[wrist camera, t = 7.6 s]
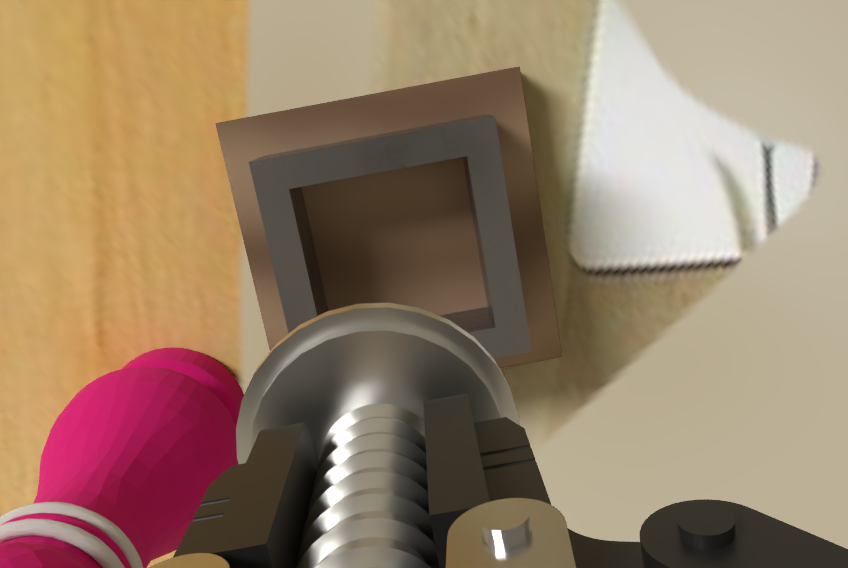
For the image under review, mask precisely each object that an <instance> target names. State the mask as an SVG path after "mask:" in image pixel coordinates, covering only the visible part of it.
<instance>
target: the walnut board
mask: <svg viewBox="0 0 848 568" xmlns="http://www.w3.org/2000/svg"><path fill="white" fill-rule="evenodd" d="M486 114H487V115H492V116H495V120H496V126H497V133H498V139H499V145H500V152H501V158H502V165H503V171H504V177H505V184H506V190H507V197H508V203H509V209H510V216H511V222H512V229H513V235H514V241H515V248H516V254H517V261H518V267H519V273H520V280H521V286H522V293H523V299H524V305H525V312H526V318H527V325H528V331H529V337H530V344H531V350H532V352H527V353H521V354H515V355H510V356H504V357H499V358H494V360H495V361H496V363H497V365H498V367H499V368H503V367H508V366H514V365H519V364H525V363H531V362H536V361H542V360H547V359H553V358H558V357H562V352H561V346H560V339H559V332H558V325H557V318H556V311H555V305H554V298H553V291H552V284H551V277H550V271H549V264H548V257H547V250H546V243H545V236H544V230H543V223H542V216H541V209H540V202H539V196H538V189H537V182H536V175H535V168H534V161H533V155H532V148H531V141H530V134H529V127H528V121H527V114H526V107H525V100H524V93H523V86H522V80H521V73H520V67H515V68H509V69H504V70H499V71H493V72H488V73H483V74H477V75H472V76H466V77H461V78H456V79H450V80H445V81H440V82H434V83H429V84H424V85H418V86H413V87H408V88H402V89H397V90H392V91H386V92H381V93H376V94H370V95H365V96H360V97H354V98H349V99H344V100H338V101H333V102H327V103H322V104H317V105H312V106H306V107H301V108H295V109H290V110H285V111H279V112H274V113H269V114H263V115H258V116H253V117H247V118H242V119H237V120H231V121H226V122H220V123H216V127H217V132H218V136H219V140H220V144H221V148H222V152H223V157H224V161H225V165H226V169H227V173H228V177H229V182H230V186H231V190H232V194H233V198H234V202H235V207H236V211H237V215H238V219H239V223H240V227H241V232H242V236H243V240H244V244H245V248H246V252H247V256H248V261H249V265H250V269H251V273H252V277H253V281H254V285H255V290H256V294H257V298H258V302H259V306H260V310H261V315H262V319H263V323H264V327H265V331H266V336H267V340H268V344H269V348H270V351H271V350H272V348H273V347H274V346H275V345H276V344H277V343H278V342H279V341H280V340H282V339H283V338H284V337H285V336H287V335H288V334H289V333H288V329H287V325H286V321H285V316H284V312H283V308H282V303H281V299H280V295H279V290H278V286H277V282H276V278H275V273H274V269H273V265H272V260H271V256H270V252H269V248H268V243H267V239H266V235H265V230H264V226H263V222H262V217H261V213H260V209H259V205H258V200H257V196H256V192H255V187H254V183H253V179H252V175H251V170H250V166H249V162H250V161H252V160H255V159H257V158H259V157H262V156H265V155H270V154H276V153H281V152H287V151H292V150H297V149H303V148H308V147H313V146H319V145H324V144H330V143H335V142H340V141H346V140H351V139H356V138H362V137H367V136H373V135H378V134H383V133H389V132H394V131H399V130H405V129H410V128H416V127H421V126H426V125H432V124H437V123H443V122H448V121H453V120H459V119H464V118H469V117H475V116H480V115H486ZM302 192H303V196H304V201H305V205H306V210H307V214H308V219H309V224H310V228H311V233H312V237H313V242H314V246H315V251H316V256H317V260H318V265H319V269H320V274H321V278H322V283H323V288H324V292H325V297H326V301H327V306H328V311H331V310H335V309H339V308H343V307H347V306H351V305H355V304H365V303H394V304H400V305H405V306H411V307H417V308H421V309H424V310H426V311H428V312H431V313H433V314H436V315H444V314H450V313H455V312H461V311H466V310H472V309H477V308H483V307H488V306H487V300H486V294H485V288H484V282H483V276H482V270H481V264H480V259H479V253H478V247H477V241H476V235H475V229H474V223H473V217H472V211H471V205H470V199H469V193H468V187H467V181H466V175H465V169H464V163H463V157H459V158H454V159H449V160H443V161H438V162H432V163H427V164H422V165H416V166H411V167H405V168H400V169H395V170H389V171H384V172H378V173H373V174H368V175H362V176H357V177H351V178H346V179H340V180H335V181H330V182H324V183H319V184H313V185H308V186H303V187H302Z"/></svg>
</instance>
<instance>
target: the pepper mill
mask: <svg viewBox="0 0 848 568" xmlns="http://www.w3.org/2000/svg"><path fill="white" fill-rule="evenodd" d="M243 397H244V394H243V391H242V389H241V387H240V386H239V384H238V382H237V381H236V379H235V378H234V377H233V376H232V374H231V373H230V372H229V371H228V370H227V369H226V368H225V367H224V366H222V365H221V364H220V363H218V362H217V361H216V360H214V359H212V358H210V357H209V356H207V355H204V354H202V353H200V352H196V351H193V350H189V349H184V348H163V349H157V350H153V351H150V352H147V353H144V354H142V355H140V356H139V357H137V358H135V359H134V360H132V361H130V362H129V363H128V364H127V365H126V366H125V367H123V368H122V369H121V370H117V371H114V372H111V373H108V374H106V375H104V376H102V377H100V378H98V379H96V380H95V381H93V382H91V383H90V384H88V385H87V386H85V387H84V388H83V389H82V390H81V391H80V392H79V393H77V394H76V395H75V397H74V398H73V399H72V400H71V402H70V403H69V404H68V405H67V407H66V408H65V409H64V410H63V411H62V413H61V414H60V415H59V416H58V418H57V420H56V421H55V423H54V425H53V427H52V429H51V431H50V434H49V436H48V439H47V442H46V445H45V447H44V450H43V453H42V456H41V463H40V476H39V486H38V492H37V496H36V499H35V501H34V503H33V504H29V505H26V506H23V507H19V508H16V509H14V510H12V511H10V512H8V513H6V514H4V515H2V516H1V517H0V568H146V567H147V566H148V564H149V563H150V561H151V560H153V559H156V558H158V557H161V556H163V555H165V554H168V553H170V552H172V551H175V550H177V548H178V546H179V545H180V543H181V541H182V539H183V537H184V535H185V533H186V531H187V529H188V527H189V525H190V523H191V522H193V517H194V515H195V513H196V511H197V509H198V507H199V506H201V501H202V499H203V497H204V495H205V493H206V491H207V489H208V487H209V485H210V484H211V483H212V482H213V481H214V480H215V479H217V478H218V477H219V476H220V475H221V474H222V473H223V472H225V471H226V470H227V469H228V468H229V467H230V466H233V465H238V464H239V463H238V460H237V445H236V426H237V421H238V416H239V412H240V407H241V402H242V399H243Z"/></svg>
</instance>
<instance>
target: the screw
mask: <svg viewBox="0 0 848 568" xmlns="http://www.w3.org/2000/svg"><path fill="white" fill-rule="evenodd" d="M466 393H468V397H469V402H470V407H471V412H472V417H473V422H474V423H475V422H481V421H487V420H492V419H498V418H503V417H507V418H508V419H510V420H512V421H513V422H515V423H516V424H518V425H519V416H518V413H517V409H516V406H515V403H514V399H513V396H512V393H511V389H510V387H509V384H508V382H507V380H506V379H505V377H504V375H503V374H502V372H501V370H500V368H499V367H498V365H497V363H496V361H495V360H494V358H493V357H492V356H491V355H490V354H489V353H488V352H487V351H486V350H485V348H484V347H483V346H482V345H481V344H480V343H479V342H478V341H477V340H476V339H475V338H474V337H473V336H472V335H470V334H469V333H467V332H466V331H464V330H463V329H462V328H460V327H459V326H457V325H456V324H454V323H453V322H451V321H450V320H448V319H446V318H443V317H441V316H438V315H436V314H433V313H431V312H428V311H426V310H424V309H421V308H417V307H411V306H405V305H400V304H394V303H365V304H355V305H351V306H347V307H343V308H339V309H335V310H331V311H327V312H325V313H323V314H321V315H319V316H317V317H315V318H313V319H311V320H309V321H307V322H305V323H303V324H301V325H299V326H298V327H297V328H295V329H294V330H293V331H292V332H290V333H289V334H288V335H287V336H285V337H284V338H283V339H282V340H280V341H279V342H278V343H277V344H276V345H275V346H274V347H273V348H272V350H271V351H270V352H269V354H268V355H267V356H266V357H265V359H264V360H263V361H262V363H261V364H260V365H259V366H258V368H257V369H256V371H255V373H254V375H253V378H252V380H251V382H250V384H249V386H248V388H247V390H246V392H245V395H244V397H243V399H242V402H241V407H240V412H239V416H238V421H237V426H236V445H237V460H238V463H239V464H244V463H246V461H247V459H248V457H249V454H250V452H251V450H252V448H253V445H254V443H255V441H256V438H257V436H258V434H259V432H260V431H261V430H264V429H270V428H275V427H281V426H287V425H292V424H298V423H303V422H307V423H308V425H309V426H310V429H311V431H312V435H313V438H314V442H315V446H316V451H317V455H318V459H319V463H318V468H317V475H316V478H315V481H314V486H313V494H312V497H311V500H310V504H309V509H308V517H307V520H306V522H305V526H304V531H303V540H302V543H301V546H300V549H299V553H298V559H297V568H440V566H439V561H438V556H437V551H436V546H435V541H434V536H433V531H432V526H431V521H430V516H429V499H428V481H427V462H426V444H425V425H424V407H423V401H427V400H433V399H438V398H444V397H450V396H455V395H461V394H466Z"/></svg>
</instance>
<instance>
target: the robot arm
mask: <svg viewBox="0 0 848 568" xmlns="http://www.w3.org/2000/svg"><path fill="white" fill-rule="evenodd" d="M423 407H424V425H425V444H426V462H427V481H428V499H429V516H430V521H431V526H432V531H433V536H434V541H435V546H436V551H437V556H438V561H439V566H440V568H848V549H846V548H843V547H841V546H839V545H836V544H834V543H832V542H829V541H827V540H824V539H822V538H820V537H817V536H815V535H813V534H810V533H808V532H806V531H803V530H801V529H798V528H796V527H794V526H791V525H789V524H787V523H784V522H782V521H779V520H777V519H775V518H772V517H770V516H767V515H765V514H763V513H760V512H758V511H756V510H753V509H751V508H748V507H746V506H743V505H740V504H736V503H732V502H727V501H720V500H691V501H684V502H679V503H675V504H672V505H669V506H666V507H664V508H662V509H659V510H658V511H656V512H655V513H653V514H651V515H650V516H649V517H648V518H647V519H646V520H645V522H644V523H643V525H642V527H641V530H640V542H617V541H605V540H598V539H593V538H589V537H586V536H583V535H580V534H578V533H575V532H573V531H572V530H570V529H568V528H567V525H566V521H565V518H564V516H563V515H562V513H561V512H560V511H559V510H558V509H556V508H555V507H554V506H552V505H551V503H550V500H549V497H548V494H547V492H546V488H545V486H544V483H543V480H542V477H541V474H540V472H539V469H538V466H537V463H536V462H535V457H534V455H533V452H532V449H531V447H530V443H529V441H528V438H527V435H526V432H525V429H524V428H523V427H521V426H519V425H518V424H516V423H515V422H513V421H512V420H510V419H508V418H507V417H503V418H498V419H492V420H487V421H481V422H475V423H474V422H473V417H472V412H471V407H470V402H469V397H468V393H466V394H461V395H455V396H450V397H444V398H438V399H433V400H427V401H423ZM318 463H319V459H318V455H317V451H316V446H315V442H314V438H313V435H312V431H311V429H310V426H309V425H308V423H307V422H303V423H298V424H292V425H287V426H281V427H275V428H270V429H264V430H261V431H260V432H259V434H258V436H257V438H256V441H255V443H254V445H253V448H252V450H251V452H250V454H249V457H248V459H247V461H246V463H244V464H238V465H233V466H230V467H229V468H228V469H227V470H226V471H225V472H223V473H222V474H221V475H220V476H219V477H218V478H217V479H215V480H214V481H213V482H212V483H211V484H210V485H209V487H208V489H207V491H206V493H205V495H204V497H203V499H202V501H201V506H199V507H198V509H197V511H196V513H195V515H194V517H193V522H191V523H190V525H189V527H188V529H187V531H186V533H185V535H184V537H183V539H182V541H181V543H180V545H179V546H178V548H177V550H176V552H175V554H174V556H173V558H171V559H168V560H165V561H162V562H160V563H158V564H155V565H153V566H151V567H149V568H297V559H298V553H299V549H300V546H301V543H302V540H303V531H304V526H305V522H306V520H307V517H308V509H309V504H310V500H311V497H312V494H313V486H314V481H315V478H316V475H317V468H318Z"/></svg>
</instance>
